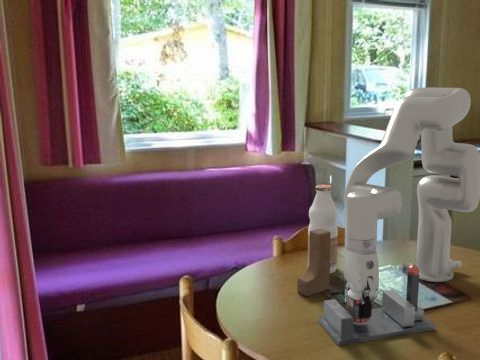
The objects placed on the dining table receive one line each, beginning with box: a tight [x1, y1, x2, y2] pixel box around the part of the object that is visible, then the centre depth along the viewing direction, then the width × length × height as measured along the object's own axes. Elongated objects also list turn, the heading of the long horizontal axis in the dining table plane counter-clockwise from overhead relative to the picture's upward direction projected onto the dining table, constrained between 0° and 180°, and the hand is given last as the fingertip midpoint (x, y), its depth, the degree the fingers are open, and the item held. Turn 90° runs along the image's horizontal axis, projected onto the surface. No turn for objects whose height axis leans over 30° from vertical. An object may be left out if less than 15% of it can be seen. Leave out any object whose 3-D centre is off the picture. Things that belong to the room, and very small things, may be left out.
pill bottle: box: [346, 283, 370, 325], centre depth 121 cm, size 6×6×10 cm
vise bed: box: [317, 298, 436, 347], centre depth 123 cm, size 26×12×6 cm, turn 104°
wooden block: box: [296, 228, 331, 297], centre depth 142 cm, size 9×4×18 cm, turn 122°
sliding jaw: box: [381, 264, 425, 327], centre depth 124 cm, size 7×10×14 cm
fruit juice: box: [307, 184, 339, 275], centre depth 157 cm, size 9×9×28 cm
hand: (358, 310), depth 121 cm, fingers closed on pill bottle, 5 cm apart
